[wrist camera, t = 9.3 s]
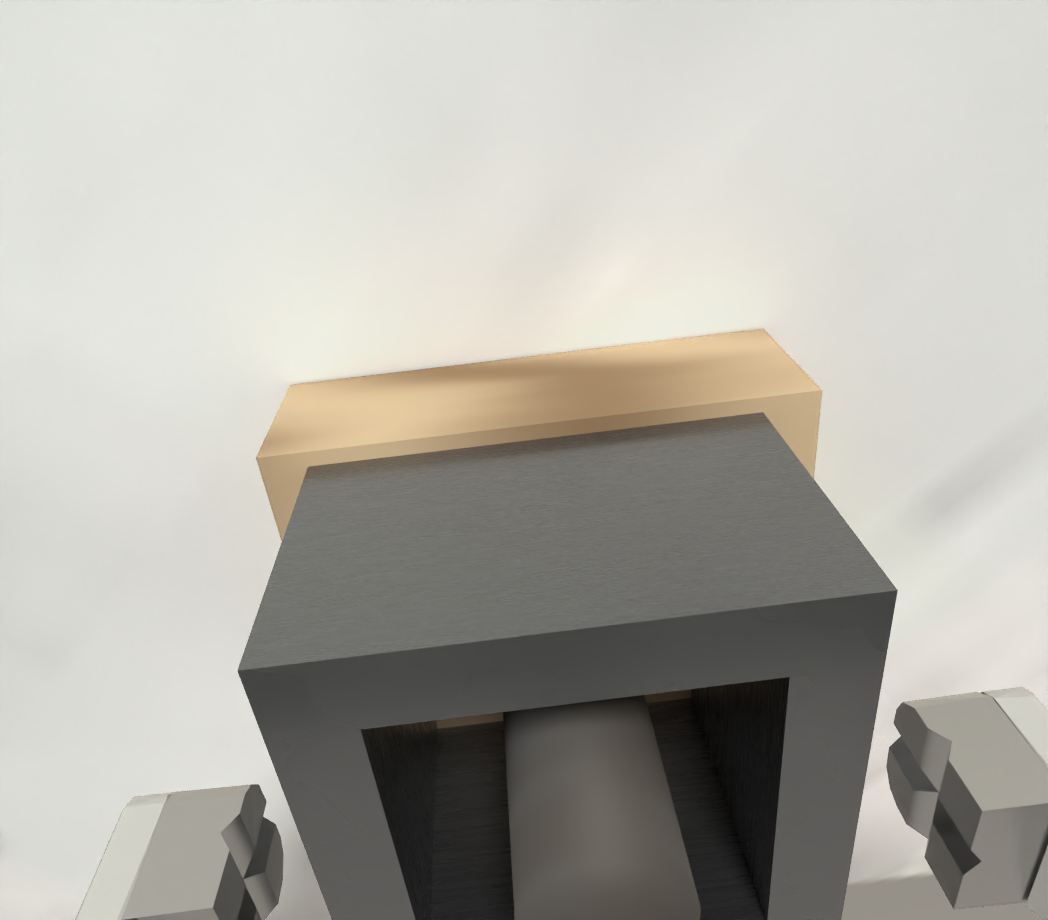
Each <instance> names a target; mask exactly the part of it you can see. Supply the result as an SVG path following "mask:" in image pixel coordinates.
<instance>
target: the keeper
mask: <svg viewBox="0 0 1048 920" xmlns="http://www.w3.org/2000/svg"><path fill="white" fill-rule="evenodd" d="M821 397H822V389H821V388H820V387H819V386H818V385H817V384H816V383H815V382H814V381H813V380H812V379H811V378H810V377H809V376H808V375H807V374H806V373H805V372H804V371H803V370H802V368H801V367H800V366H799V365H798V364H797V363H796V362H795V361H794V360H793V359H792V358H791V357H790V356H789V355H788V354H787V353H786V352H785V351H784V350H783V349H782V348H781V347H780V345H779V344H778V343H777V342H776V341H775V340H774V339H773V338H772V337H771V336H770V335H769V334H768V333H767V332H766V331H765V330H764V329H758V330H749V331H741V332H732V333H724V334H716V335H707V336H699V337H690V338H682V339H674V340H665V341H657V342H648V343H640V344H632V345H623V346H615V347H606V348H598V349H589V350H581V351H573V352H564V353H556V354H547V355H539V356H531V357H522V358H514V359H505V360H497V361H489V362H480V363H472V364H463V365H455V366H446V367H438V368H430V369H421V370H413V371H404V372H396V373H388V374H379V375H371V376H362V377H354V378H346V379H337V380H329V381H320V382H312V383H303V384H295V385H290V387H289V389H288V391H287V393H286V395H285V397H284V399H283V401H282V404H281V406H280V408H279V410H278V412H277V414H276V416H275V419H274V421H273V423H272V425H271V427H270V429H269V431H268V433H267V436H266V438H265V440H264V442H263V444H262V446H261V448H260V451H259V453H258V455H257V457H256V459H257V463H258V466H259V469H260V472H261V476H262V479H263V482H264V485H265V489H266V492H267V495H268V498H269V501H270V505H271V508H272V511H273V514H274V518H275V521H276V524H277V527H278V531H279V534H280V537H281V540H283V538H284V535H285V532H286V529H287V526H288V523H289V520H290V517H291V514H292V511H293V509H294V506H295V503H296V500H297V497H298V494H299V491H300V488H301V485H302V482H303V480H304V477H305V474H306V471H307V468H308V467H309V466H318V465H326V464H334V463H343V462H351V461H360V460H368V459H376V458H385V457H393V456H401V455H410V454H418V453H426V452H435V451H443V450H451V449H460V448H468V447H477V446H485V445H493V444H502V443H510V442H518V441H527V440H535V439H543V438H552V437H560V436H568V435H577V434H585V433H594V432H602V431H610V430H619V429H627V428H635V427H644V426H652V425H660V424H669V423H677V422H685V421H694V420H702V419H710V418H719V417H727V416H736V415H744V414H752V413H761V412H763V413H764V414H765V415H766V417H767V418H768V419H769V421H770V422H771V423H772V425H773V426H774V427H775V429H776V430H777V431H778V433H779V434H780V435H781V437H782V438H783V439H784V440H785V442H786V443H787V444H788V446H789V447H790V448H791V450H792V451H793V452H794V454H795V455H796V456H797V458H798V459H799V460H800V462H801V463H802V464H803V466H804V467H805V468H806V470H807V471H808V472H809V474H810V475H811V476H812V478H813V479H814V470H815V460H816V449H817V439H818V429H819V418H820V408H821ZM684 698H691V689H687V690H679V691H671V692H663V693H655V694H647V695H638V696H630V697H622V698H614V699H606V700H598V701H590V702H581V703H573V704H565V705H557V706H549V707H541V708H532V709H524V710H516V711H508V712H500V713H492V714H484V715H475V716H467V717H459V718H451V719H443V720H436V723H437V727H438V729H440V728H448V727H456V726H464V725H472V724H481V723H489V722H497V721H504V738H505V756H506V774H507V791H508V809H509V827H510V845H511V862H512V880H513V898H514V916H515V920H700V914H701V908H700V902H699V898H698V895H697V891H696V887H695V883H694V880H693V876H692V872H691V868H690V865H689V861H688V857H687V853H686V850H685V846H684V842H683V838H682V834H681V831H680V827H679V823H678V819H677V816H676V812H675V808H674V804H673V801H672V797H671V793H670V789H669V786H668V782H667V778H666V774H665V771H664V767H663V763H662V759H661V755H660V752H659V748H658V744H657V740H656V737H655V733H654V729H653V725H652V722H651V718H650V714H649V710H648V707H647V703H652V702H660V701H668V700H676V699H684Z"/></svg>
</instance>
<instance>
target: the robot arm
mask: <svg viewBox="0 0 1048 920" xmlns="http://www.w3.org/2000/svg"><path fill="white" fill-rule="evenodd" d="M894 725H895V726H896V728H897V730H898V731H899V733H900V735H901V737H900V738H899V739H898V740H897V741H895V742H894V743H893V744H892V745H891V746H890V747H889V752H888V759H887V772H888V778H889V784H890V789H891V792H892V794H893V797H894V800H895V802H896V805H897V807H898V809H899V811H900V813H901V815H902V816H903V818H904V820H905V822H906V824H907V825H909V826H910V827H912V828H913V829H914V830H916V831H917V832H919V833H920V834H922V835H923V836H925V837H926V838H927V839H928V842H927V847H926V853H925V859H926V860H927V862H928V864H929V866H930V868H931V869H932V871H933V873H934V875H935V876H936V878H937V880H938V882H939V884H940V886H941V887H942V889H943V891H944V892H945V894H946V896H947V898H948V900H949V901H950V903H951V905H952V907H953V909H964V908H974V907H984V906H994V905H1005V904H1015V903H1025V902H1027V903H1026V906H1025V907H1027V908H1028V909H1029V910H1030V911H1031V912H1033V913H1034V914H1035V915H1036V916H1038V917H1039V918H1040V919H1041V920H1048V710H1047V709H1046V708H1045V706H1044V705H1043V704H1042V703H1041V702H1040V701H1039V699H1038V698H1037V697H1036V696H1035V695H1034V694H1033V693H1032V692H1030V691H1029V690H1027V689H1025V688H1024V687H1019V688H1011V689H1003V690H994V691H986V692H981V693H978V692H973V693H965V694H958V695H951V696H944V697H936V698H929V699H922V700H915V701H908V702H902V704H901V705H900V706H899V707H898V708H897V710H896V715H895V719H894ZM265 806H266V799H265V797H264V795H263V793H262V791H261V788H260V786H259V784H258V785H242V786H232V787H222V788H211V789H201V790H191V791H181V792H172V793H163V794H154V795H145V796H136V797H133V799H132V800H131V801H130V802H129V803H128V804H127V805H126V806H125V808H124V809H123V810H122V813H121V815H120V817H119V820H118V822H117V824H116V827H115V829H114V831H113V834H112V836H111V838H110V841H109V843H108V845H107V848H106V850H105V852H104V854H103V857H102V859H101V861H100V864H99V866H98V868H97V871H96V873H95V875H94V878H93V880H92V882H91V885H90V887H89V889H88V892H87V894H86V896H85V899H84V901H83V903H82V905H81V908H80V910H79V912H78V915H77V917H76V919H75V920H265V918H266V917H267V916H268V915H269V913H270V912H271V911H272V910H273V909H274V907H275V906H276V905H277V904H278V901H279V896H280V891H281V886H282V880H283V849H282V843H281V837H280V834H279V832H278V829H277V827H276V824H274V823H273V822H271V821H269V820H268V819H266V818H264V817H263V814H264V810H265Z"/></svg>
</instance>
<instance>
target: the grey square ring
mask: <svg viewBox="0 0 1048 920" xmlns="http://www.w3.org/2000/svg"><path fill="white" fill-rule="evenodd" d="M896 596H897V589H896V588H895V586H894V585H893V584H892V582H891V581H890V580H889V578H888V577H887V576H886V574H885V573H884V572H883V571H882V569H881V568H880V567H879V565H878V564H877V563H876V561H875V560H874V559H873V557H872V556H871V555H870V553H869V552H868V551H867V549H866V548H865V547H864V545H863V544H862V543H861V541H860V540H859V539H858V537H857V536H856V535H855V533H854V532H853V531H852V529H851V528H850V527H849V525H848V524H847V523H846V521H845V520H844V519H843V517H842V516H841V515H840V513H839V512H838V511H837V509H836V508H835V507H834V505H833V504H832V503H831V502H830V500H829V499H828V498H827V496H826V495H825V494H824V492H823V491H822V490H821V488H820V487H819V486H818V484H817V483H816V482H815V480H814V479H813V478H812V476H811V475H810V474H809V472H808V471H807V470H806V468H805V467H804V466H803V464H802V463H801V462H800V460H799V459H798V458H797V456H796V455H795V454H794V452H793V451H792V450H791V448H790V447H789V446H788V444H787V443H786V442H785V440H784V439H783V438H782V437H781V435H780V434H779V433H778V431H777V430H776V429H775V427H774V426H773V425H772V423H771V422H770V421H769V419H768V418H767V417H766V415H765V414H764V413H763V412H761V413H752V414H744V415H736V416H727V417H719V418H710V419H702V420H694V421H685V422H677V423H669V424H660V425H652V426H644V427H635V428H627V429H619V430H610V431H602V432H594V433H585V434H577V435H568V436H560V437H552V438H543V439H535V440H527V441H518V442H510V443H502V444H493V445H485V446H477V447H468V448H460V449H451V450H443V451H435V452H426V453H418V454H410V455H401V456H393V457H385V458H376V459H368V460H360V461H351V462H343V463H334V464H326V465H318V466H309V467H308V468H307V471H306V474H305V477H304V480H303V482H302V485H301V488H300V491H299V494H298V497H297V500H296V503H295V506H294V509H293V511H292V514H291V517H290V520H289V523H288V526H287V529H286V532H285V535H284V538H283V540H282V543H281V546H280V549H279V552H278V555H277V558H276V561H275V564H274V567H273V569H272V572H271V575H270V578H269V581H268V584H267V587H266V590H265V593H264V596H263V598H262V601H261V604H260V607H259V610H258V613H257V616H256V619H255V622H254V625H253V627H252V630H251V633H250V636H249V639H248V642H247V645H246V648H245V651H244V654H243V656H242V659H241V662H240V665H239V668H238V673H239V676H240V678H241V681H242V684H243V686H244V689H245V692H246V694H247V697H248V699H249V702H250V705H251V707H252V710H253V713H254V715H255V718H256V721H257V723H258V726H259V728H260V731H261V734H262V736H263V739H264V742H265V744H266V747H267V749H268V752H269V755H270V757H271V760H272V763H273V765H274V768H275V771H276V773H277V776H278V778H279V781H280V784H281V786H282V789H283V792H284V794H285V797H286V799H287V802H288V805H289V807H290V810H291V813H292V815H293V818H294V821H295V823H296V826H297V828H298V831H299V834H300V836H301V839H302V842H303V844H304V847H305V849H306V852H307V855H308V857H309V860H310V863H311V865H312V868H313V871H314V873H315V876H316V878H317V881H318V884H319V886H320V889H321V892H322V894H323V897H324V899H325V902H326V905H327V907H328V910H329V913H330V915H331V918H332V920H515V916H514V898H513V880H512V862H511V845H510V827H509V809H508V791H507V774H506V756H505V738H504V721H497V722H489V723H481V724H472V725H464V726H456V727H448V728H440V729H438V727H437V723H436V720H443V719H451V718H459V717H467V716H475V715H484V714H492V713H500V712H508V711H516V710H524V709H532V708H541V707H549V706H557V705H565V704H573V703H581V702H590V701H598V700H606V699H614V698H622V697H630V696H638V695H647V694H655V693H663V692H671V691H679V690H687V689H691V698H684V699H676V700H668V701H660V702H652V703H647V707H648V710H649V714H650V718H651V722H652V725H653V729H654V733H655V737H656V740H657V744H658V748H659V752H660V755H661V759H662V763H663V767H664V771H665V774H666V778H667V782H668V786H669V789H670V793H671V797H672V801H673V804H674V808H675V812H676V816H677V819H678V823H679V827H680V831H681V834H682V838H683V842H684V846H685V850H686V853H687V857H688V861H689V865H690V868H691V872H692V876H693V880H694V883H695V887H696V891H697V895H698V898H699V902H700V908H701V914H700V920H841V916H842V911H843V905H844V899H845V893H846V887H847V882H848V876H849V870H850V864H851V858H852V853H853V847H854V841H855V835H856V829H857V823H858V818H859V812H860V806H861V800H862V794H863V788H864V783H865V777H866V771H867V765H868V759H869V753H870V748H871V742H872V736H873V730H874V724H875V718H876V713H877V707H878V701H879V695H880V689H881V683H882V678H883V672H884V666H885V660H886V654H887V648H888V643H889V637H890V631H891V625H892V619H893V613H894V608H895V602H896Z"/></svg>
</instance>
